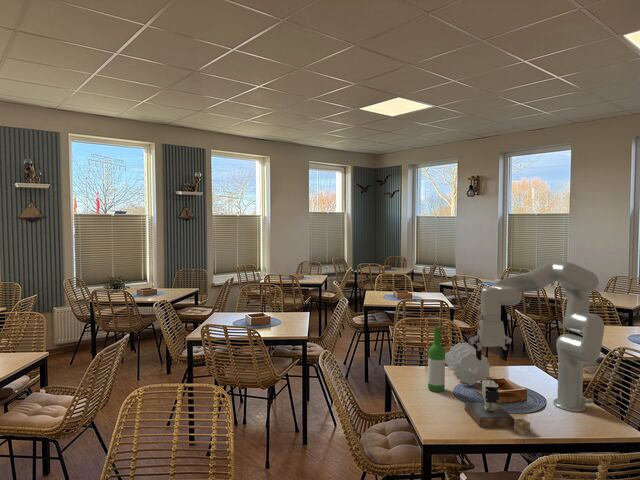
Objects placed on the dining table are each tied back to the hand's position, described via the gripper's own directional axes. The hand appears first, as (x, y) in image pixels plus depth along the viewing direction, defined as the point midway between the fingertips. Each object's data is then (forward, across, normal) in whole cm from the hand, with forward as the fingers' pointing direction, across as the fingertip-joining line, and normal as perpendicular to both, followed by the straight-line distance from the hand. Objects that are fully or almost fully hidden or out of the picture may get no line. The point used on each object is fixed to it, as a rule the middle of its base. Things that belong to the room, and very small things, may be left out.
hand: (490, 359), depth 184 cm
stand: (+24, -1, 0) cm, 24 cm away
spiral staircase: (+25, +7, +46) cm, 53 cm away
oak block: (+24, +7, -12) cm, 28 cm away
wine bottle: (+24, -13, +32) cm, 42 cm away
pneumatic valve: (+21, 0, 0) cm, 21 cm away
